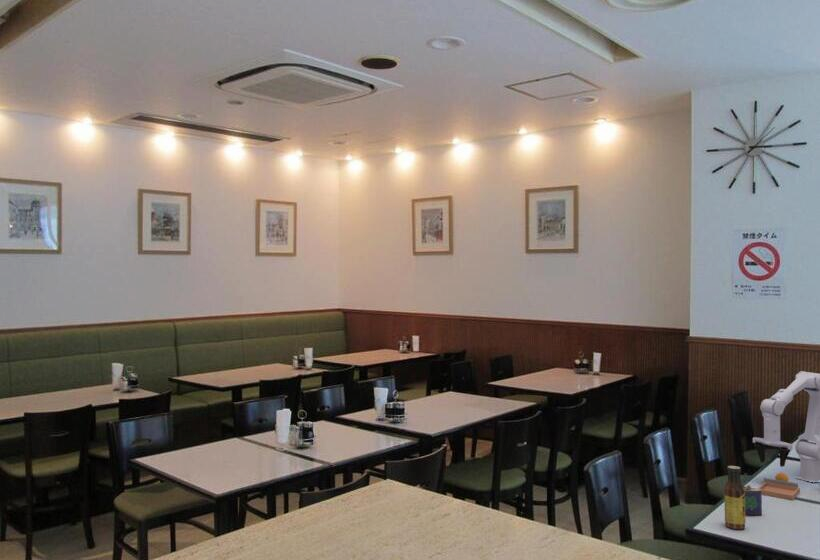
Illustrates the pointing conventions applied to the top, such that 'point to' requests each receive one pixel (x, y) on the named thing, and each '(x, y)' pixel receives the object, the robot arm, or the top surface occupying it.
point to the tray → (779, 490)
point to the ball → (782, 477)
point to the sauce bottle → (734, 499)
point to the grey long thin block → (781, 482)
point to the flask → (753, 501)
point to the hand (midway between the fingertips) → (772, 464)
